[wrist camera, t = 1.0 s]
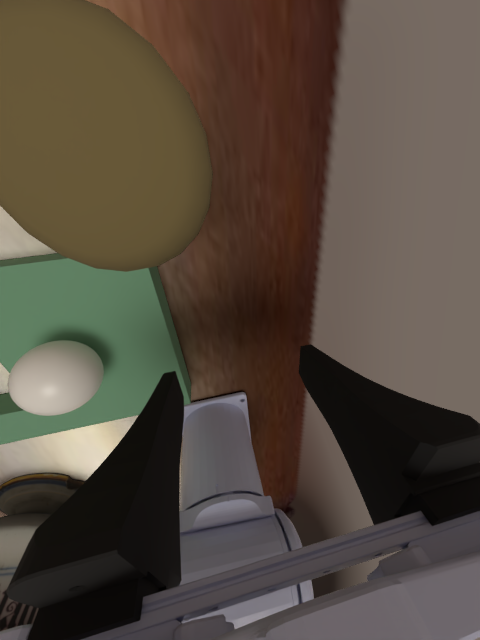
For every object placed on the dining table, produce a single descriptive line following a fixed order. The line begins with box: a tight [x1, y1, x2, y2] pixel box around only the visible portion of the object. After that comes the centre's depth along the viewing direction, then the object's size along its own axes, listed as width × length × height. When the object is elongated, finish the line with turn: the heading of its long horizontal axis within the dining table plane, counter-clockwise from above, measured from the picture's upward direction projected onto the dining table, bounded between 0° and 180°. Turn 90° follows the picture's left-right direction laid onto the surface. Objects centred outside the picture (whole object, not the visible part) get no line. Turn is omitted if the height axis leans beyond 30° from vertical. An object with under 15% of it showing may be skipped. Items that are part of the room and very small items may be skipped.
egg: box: [8, 340, 104, 416], centre depth 13 cm, size 4×4×4 cm
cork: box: [0, 0, 213, 272], centre depth 9 cm, size 6×6×11 cm
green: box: [0, 253, 191, 445], centre depth 16 cm, size 14×21×2 cm, turn 95°
